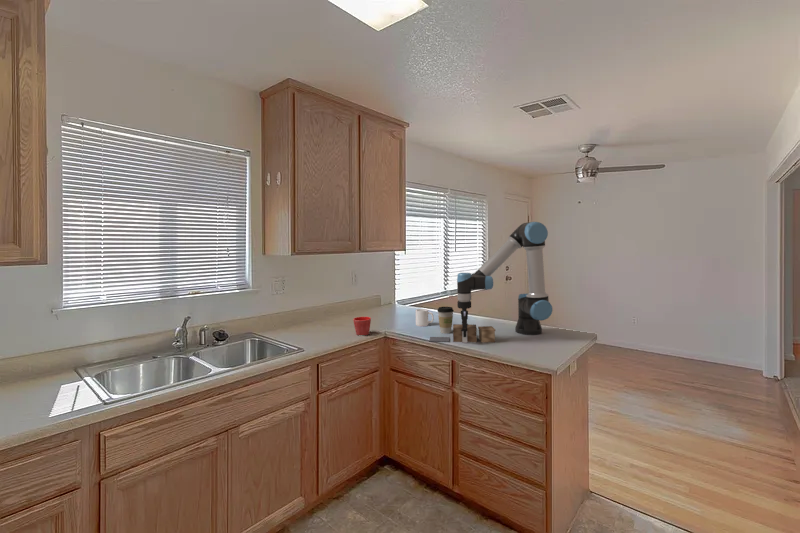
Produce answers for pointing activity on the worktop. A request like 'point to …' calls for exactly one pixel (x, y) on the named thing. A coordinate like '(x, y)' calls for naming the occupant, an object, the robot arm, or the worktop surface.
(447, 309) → the coffee cup
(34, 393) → the worktop surface
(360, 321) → the flower pot
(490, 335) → the oak box
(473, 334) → the brown wooden box
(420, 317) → the cup
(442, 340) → the mat
